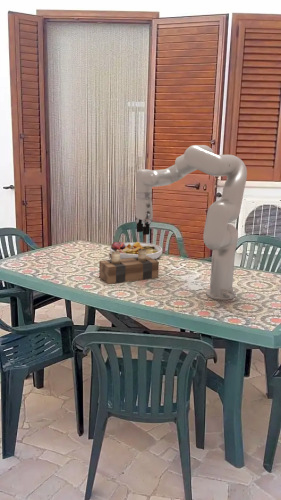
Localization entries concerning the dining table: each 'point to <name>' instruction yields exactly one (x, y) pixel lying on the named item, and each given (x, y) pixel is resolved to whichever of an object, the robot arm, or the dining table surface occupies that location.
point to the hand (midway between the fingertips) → (142, 232)
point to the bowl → (135, 249)
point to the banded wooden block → (128, 270)
